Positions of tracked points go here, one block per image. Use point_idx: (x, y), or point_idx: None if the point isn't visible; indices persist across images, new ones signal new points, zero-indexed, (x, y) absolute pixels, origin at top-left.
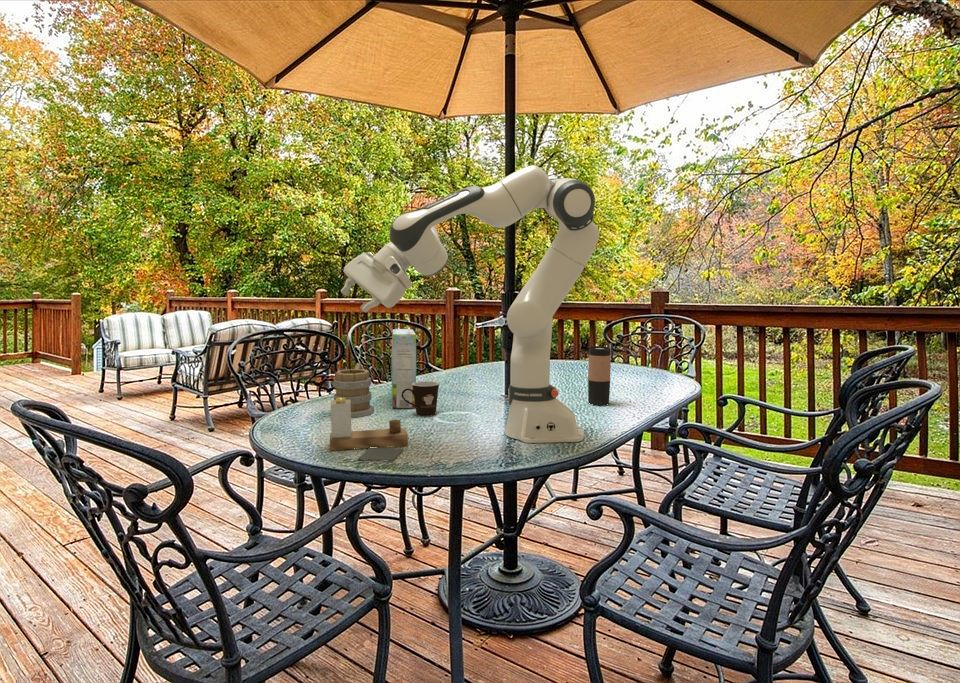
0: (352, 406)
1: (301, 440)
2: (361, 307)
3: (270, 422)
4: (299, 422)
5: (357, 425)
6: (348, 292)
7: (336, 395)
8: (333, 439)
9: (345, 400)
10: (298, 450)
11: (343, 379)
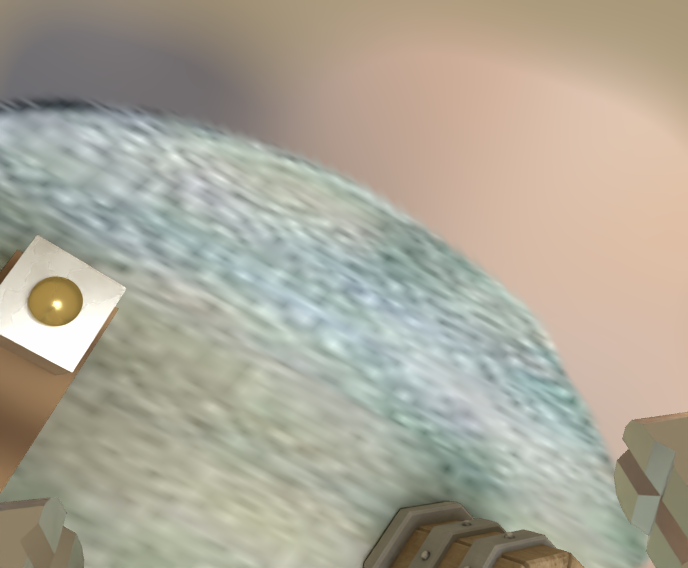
0: (406, 565)
1: (223, 257)
2: (9, 505)
3: (476, 292)
4: (426, 362)
5: (264, 515)
6: (658, 538)
7: (484, 527)
8: (8, 262)
9: (69, 340)
10: (117, 187)
11: (503, 563)
